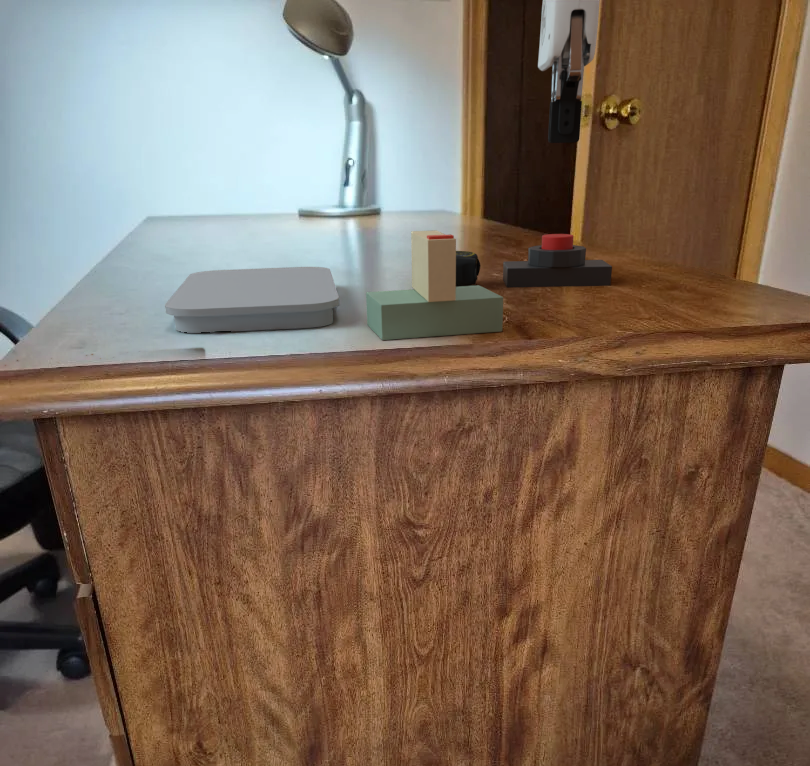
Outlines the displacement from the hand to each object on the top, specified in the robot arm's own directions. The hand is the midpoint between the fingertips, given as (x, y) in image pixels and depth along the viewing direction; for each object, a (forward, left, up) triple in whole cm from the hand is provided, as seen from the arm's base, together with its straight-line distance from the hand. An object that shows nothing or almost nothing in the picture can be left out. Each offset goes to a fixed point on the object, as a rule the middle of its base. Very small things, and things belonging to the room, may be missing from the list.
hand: (563, 142), depth 88 cm
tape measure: (+7, +10, -15) cm, 20 cm away
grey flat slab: (+15, +32, -15) cm, 39 cm away
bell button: (0, 0, -12) cm, 12 cm away
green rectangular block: (-7, +28, -15) cm, 33 cm away
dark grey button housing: (0, 0, -15) cm, 15 cm away
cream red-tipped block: (-7, +28, -12) cm, 31 cm away
